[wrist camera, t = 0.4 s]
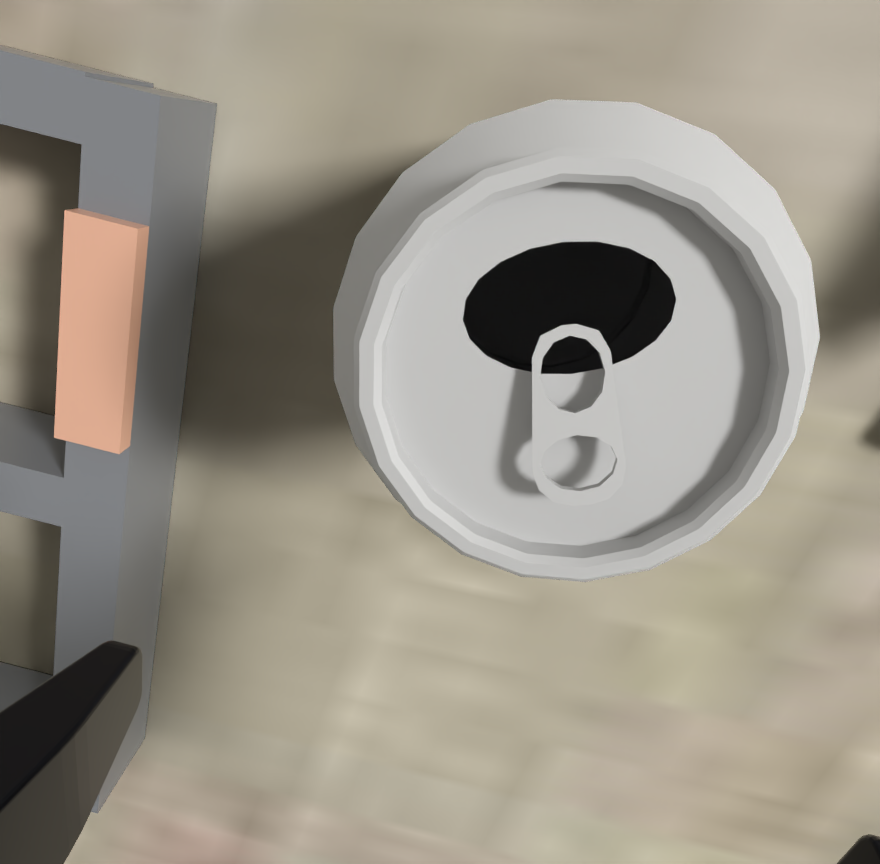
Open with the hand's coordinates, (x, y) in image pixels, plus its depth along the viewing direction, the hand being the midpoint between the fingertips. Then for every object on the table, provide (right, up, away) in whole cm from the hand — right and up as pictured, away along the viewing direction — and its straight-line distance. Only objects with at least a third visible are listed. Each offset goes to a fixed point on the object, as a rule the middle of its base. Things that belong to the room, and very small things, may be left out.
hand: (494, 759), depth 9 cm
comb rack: (-13, +3, +16) cm, 21 cm away
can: (+2, +9, +12) cm, 15 cm away
